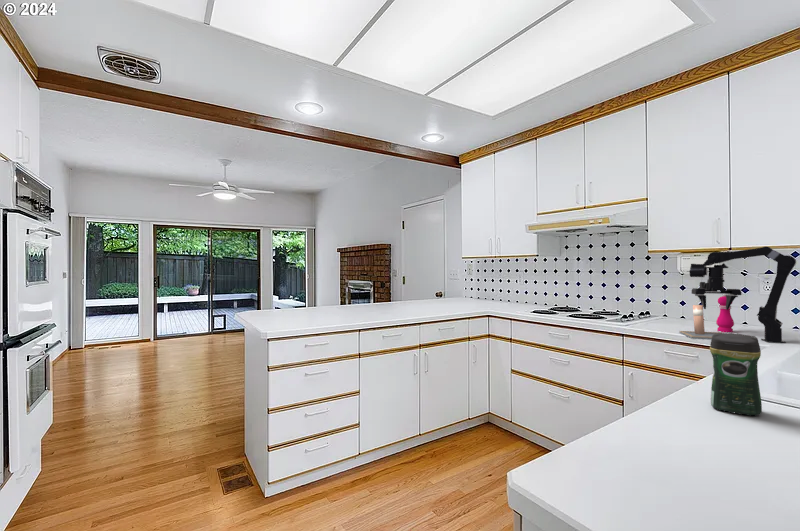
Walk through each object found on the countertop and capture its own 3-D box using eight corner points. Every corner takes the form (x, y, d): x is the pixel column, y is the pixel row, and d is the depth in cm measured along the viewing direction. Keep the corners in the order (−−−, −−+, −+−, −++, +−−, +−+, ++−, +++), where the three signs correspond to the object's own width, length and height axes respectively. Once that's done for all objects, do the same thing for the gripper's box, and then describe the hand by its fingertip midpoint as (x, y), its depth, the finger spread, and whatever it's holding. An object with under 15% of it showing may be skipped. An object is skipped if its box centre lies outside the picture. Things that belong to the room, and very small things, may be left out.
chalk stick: (706, 334, 196) (704, 305, 196) (696, 334, 197) (694, 305, 198) (702, 332, 200) (700, 304, 200) (693, 332, 201) (691, 304, 202)
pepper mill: (727, 330, 213) (727, 292, 213) (737, 332, 205) (737, 293, 205) (713, 330, 213) (712, 292, 213) (722, 332, 206) (722, 293, 206)
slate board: (737, 340, 185) (737, 338, 185) (691, 338, 190) (691, 336, 190) (721, 334, 200) (721, 332, 200) (679, 333, 206) (679, 330, 206)
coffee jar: (761, 410, 98) (760, 333, 98) (762, 419, 92) (762, 338, 92) (710, 401, 104) (710, 329, 104) (709, 410, 98) (708, 333, 98)
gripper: (730, 277, 202) (730, 308, 202) (687, 276, 208) (687, 307, 208) (742, 277, 191) (742, 310, 191) (696, 277, 197) (696, 309, 197)
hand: (715, 309), depth 197 cm, fingers open, 9 cm apart
